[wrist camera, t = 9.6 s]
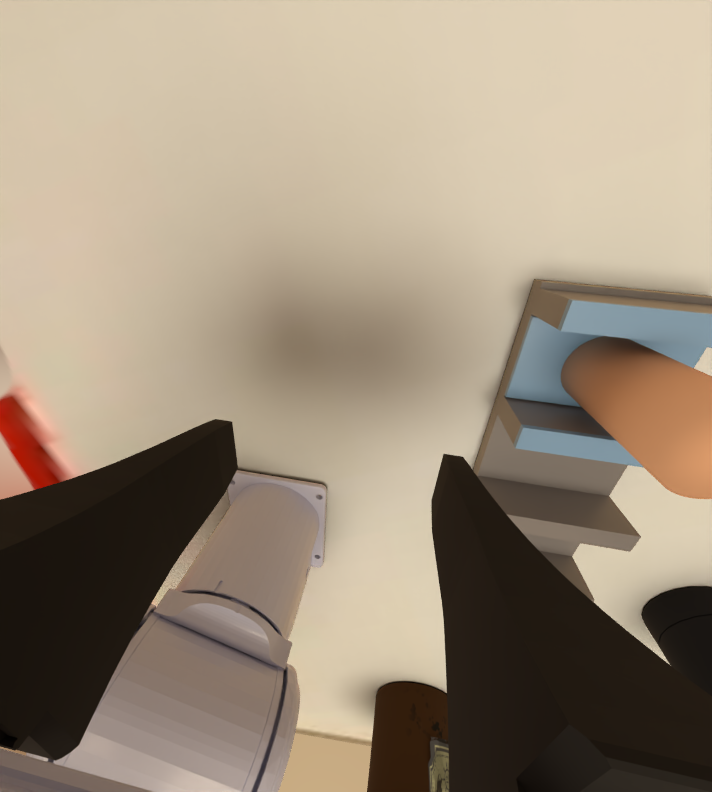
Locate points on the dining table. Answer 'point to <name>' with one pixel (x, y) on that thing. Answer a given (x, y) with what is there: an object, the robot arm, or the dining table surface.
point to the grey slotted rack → (574, 414)
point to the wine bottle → (684, 631)
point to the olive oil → (409, 740)
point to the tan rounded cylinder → (648, 409)
